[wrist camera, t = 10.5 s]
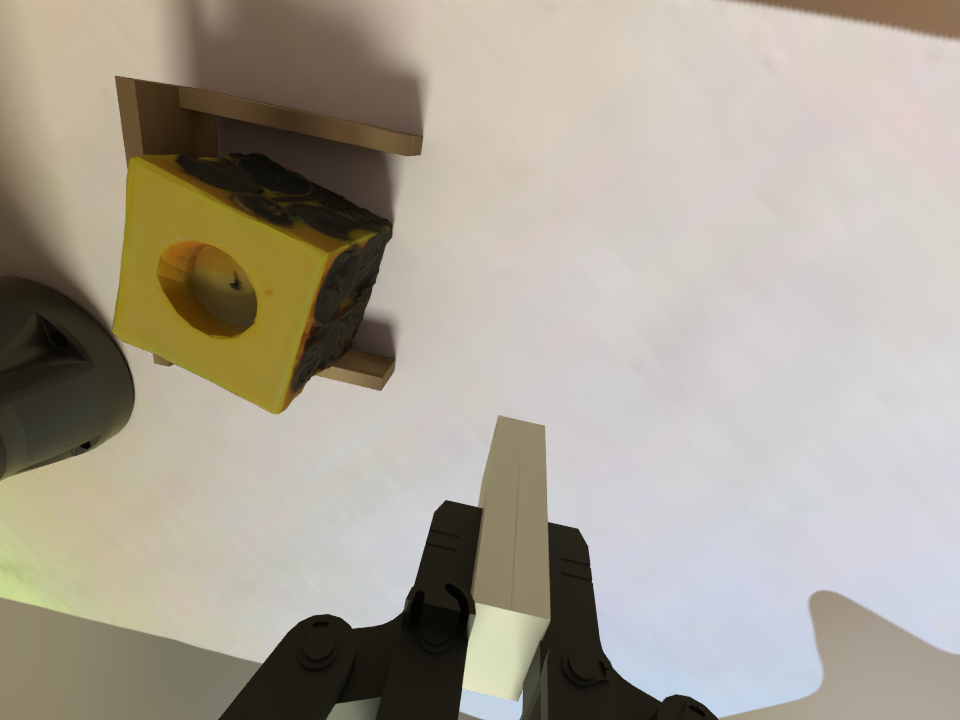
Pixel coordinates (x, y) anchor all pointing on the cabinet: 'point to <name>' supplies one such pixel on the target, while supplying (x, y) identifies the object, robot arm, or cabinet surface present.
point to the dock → (192, 131)
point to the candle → (243, 271)
